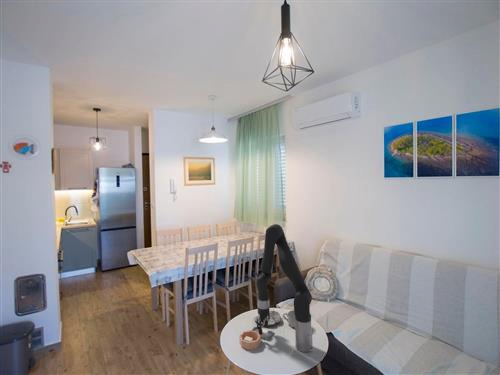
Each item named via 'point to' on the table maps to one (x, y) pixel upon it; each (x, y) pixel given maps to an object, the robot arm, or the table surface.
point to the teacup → (290, 318)
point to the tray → (263, 337)
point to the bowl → (251, 344)
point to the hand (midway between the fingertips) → (263, 330)
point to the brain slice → (271, 318)
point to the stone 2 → (265, 333)
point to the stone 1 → (248, 339)
